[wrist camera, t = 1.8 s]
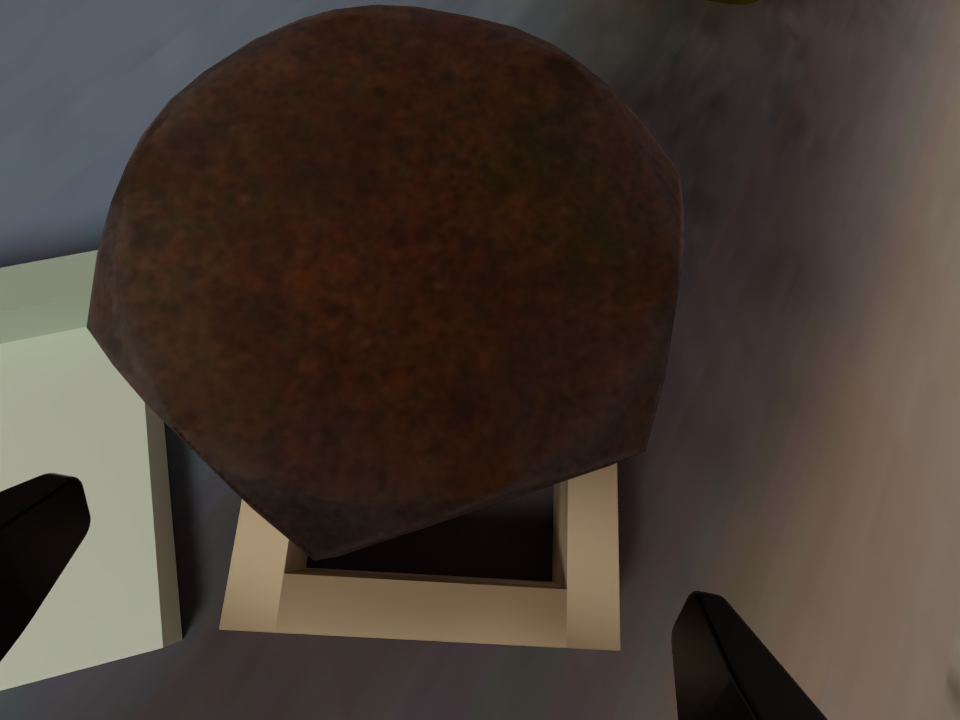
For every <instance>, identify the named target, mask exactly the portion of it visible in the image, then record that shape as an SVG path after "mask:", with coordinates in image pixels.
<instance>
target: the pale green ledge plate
mask: <svg viewBox="0 0 960 720" xmlns="http://www.w3.org/2000/svg"><path fill="white" fill-rule="evenodd" d="M97 252H98V250H95V251H90V252H84V253H79V254H73V255H68V256H62V257H57V258H51V259H46V260H40V261H35V262H29V263H24V264H18V265H13V266H8V267H2V268H0V492H1V491H3V490H5V489H8V488H10V487H13V486H15V485H18V484H20V483H23V482H25V481H28V480H30V479H33V478H35V477H38V476H40V475H43V474H47V473H57V474H62V475H68V476H73V477H76V478H78V479H79V480H80V481H81V482H82V484H83V488H84V492H85V496H86V500H87V504H88V508H89V512H90V517H91V522H90V527H89V530H88V532H87V534H86V536H85V538H84V539H83V541H82V542H81V544H80V546H79V547H78V549H77V550H76V552H75V553H74V555H73V556H72V558H71V559H70V561H69V563H68V564H67V566H66V567H65V569H64V570H63V572H62V573H61V575H60V576H59V578H58V580H57V581H56V583H55V584H54V586H53V587H52V589H51V590H50V592H49V593H48V595H47V597H46V598H45V600H44V601H43V603H42V604H41V606H40V607H39V609H38V610H37V612H36V614H35V615H34V617H33V618H32V620H31V621H30V622H29V624H28V625H27V627H26V628H25V630H24V631H23V633H22V634H21V635H20V637H19V638H18V639H17V641H16V642H15V643H14V645H13V646H12V647H11V649H10V650H9V651H8V653H7V654H6V655H5V657H4V658H3V659H2V660H1V662H0V691H1V690H5V689H9V688H12V687H16V686H20V685H24V684H28V683H31V682H35V681H39V680H43V679H46V678H50V677H54V676H58V675H62V674H65V673H69V672H73V671H77V670H81V669H84V668H88V667H92V666H96V665H99V664H103V663H107V662H111V661H115V660H118V659H122V658H126V657H130V656H134V655H137V654H141V653H145V652H149V651H152V650H156V649H160V648H164V647H166V646H168V645H171V644H173V643H176V642H178V641H181V640H182V628H181V616H180V604H179V593H178V581H177V569H176V557H175V545H174V533H173V522H172V510H171V498H170V486H169V474H168V462H167V451H166V439H165V427H164V421H163V420H162V419H161V418H160V417H159V416H158V415H157V414H156V413H155V412H154V411H153V410H152V409H151V408H150V407H149V406H148V405H147V404H146V403H145V402H144V401H143V400H142V399H141V398H140V396H139V395H138V394H137V393H136V392H135V390H134V389H133V388H132V387H131V386H130V385H129V383H128V382H127V381H126V380H125V379H124V378H123V376H122V375H121V374H120V373H119V372H118V370H117V369H116V368H115V367H114V366H113V365H112V363H111V362H110V360H109V359H108V357H107V356H106V355H105V353H104V352H103V350H102V349H101V347H100V346H99V344H98V343H97V342H96V340H95V339H94V337H93V336H92V334H91V333H90V332H89V330H88V329H87V320H88V313H89V306H90V299H91V292H92V285H93V278H94V271H95V264H96V257H97Z"/></svg>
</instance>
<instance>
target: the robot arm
mask: <svg viewBox="0 0 960 720" xmlns="http://www.w3.org/2000/svg"><path fill="white" fill-rule="evenodd" d="M90 522H91V517H90V512H89V508H88V504H87V500H86V496H85V492H84V488H83V484H82V482H81V481H80V480H79V479H78V478H76V477H73V476H68V475H62V474H57V473H47V474H43V475H40V476H38V477H35V478H33V479H30V480H28V481H25V482H23V483H20V484H18V485H15V486H13V487H10V488H8V489H5V490H3V491H1V492H0V662H1V660H2V659H3V658H4V657H5V655H6V654H7V653H8V651H9V650H10V649H11V647H12V646H13V645H14V643H15V642H16V641H17V639H18V638H19V637H20V635H21V634H22V633H23V631H24V630H25V628H26V627H27V625H28V624H29V622H30V621H31V620H32V618H33V617H34V615H35V614H36V612H37V610H38V609H39V607H40V606H41V604H42V603H43V601H44V600H45V598H46V597H47V595H48V593H49V592H50V590H51V589H52V587H53V586H54V584H55V583H56V581H57V580H58V578H59V576H60V575H61V573H62V572H63V570H64V569H65V567H66V566H67V564H68V563H69V561H70V559H71V558H72V556H73V555H74V553H75V552H76V550H77V549H78V547H79V546H80V544H81V542H82V541H83V539H84V538H85V536H86V534H87V532H88V530H89V527H90ZM671 641H672V654H673V665H674V677H675V688H676V699H677V711H678V720H828V719H827V718H826V717H825V716H824V715H823V714H822V712H821V711H820V710H819V709H818V708H817V706H816V705H815V704H814V703H813V702H812V701H811V699H810V698H809V697H808V696H807V695H806V694H805V692H804V691H803V690H802V689H801V688H800V686H799V685H798V684H797V683H796V682H795V681H794V679H793V678H792V677H791V676H790V675H789V674H788V672H787V671H786V670H785V669H784V668H783V666H782V665H781V664H780V663H779V662H778V661H777V659H776V658H775V657H774V656H773V655H772V654H771V652H770V651H769V650H768V649H767V648H766V646H765V645H764V644H763V643H762V642H761V641H760V639H759V638H758V637H757V636H756V635H755V634H754V632H753V631H752V630H751V629H750V628H749V626H748V625H747V624H746V623H745V622H744V621H743V619H742V618H741V617H740V616H739V615H738V614H737V612H736V611H735V610H734V609H733V608H732V606H731V605H730V604H729V603H728V602H727V601H726V600H725V599H724V598H723V597H721V596H719V595H716V594H711V593H706V592H700V591H694V592H692V593H691V594H690V595H689V596H688V598H687V600H686V602H685V604H684V606H683V608H682V610H681V612H680V614H679V616H678V618H677V620H676V622H675V624H674V626H673V630H672V640H671Z"/></svg>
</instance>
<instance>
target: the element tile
mask: <svg viewBox="0 0 960 720" xmlns="http://www.w3.org/2000/svg"><path fill="white" fill-rule="evenodd" d="M708 1H714V2H720V3H726V4H747V3H753V2H757V1H758V0H708Z"/></svg>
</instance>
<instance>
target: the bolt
mask: <svg viewBox="0 0 960 720" xmlns="http://www.w3.org/2000/svg"><path fill="white" fill-rule="evenodd" d="M683 254H684V203H683V195H682V187H681V178H680V172H679V171H678V169H677V168H676V167H675V165H674V164H673V163H672V161H671V160H670V159H669V157H668V156H667V155H666V153H665V152H664V151H663V149H662V148H661V147H660V145H659V144H658V143H657V141H656V140H655V138H654V137H653V136H652V134H651V133H650V132H649V130H648V129H647V128H646V126H645V125H644V124H643V122H642V121H641V120H640V119H639V118H638V117H637V116H636V115H635V113H634V112H633V111H632V110H631V109H630V108H629V107H628V106H627V105H626V104H625V103H624V102H623V101H622V100H621V99H620V97H619V96H618V95H617V94H616V93H615V92H614V91H613V90H612V89H611V88H610V87H609V86H608V85H607V84H606V83H604V82H603V81H602V80H601V79H600V78H598V77H597V76H596V75H595V74H593V73H592V72H591V71H590V70H589V69H587V68H586V67H585V66H584V65H582V64H581V63H580V62H579V61H577V60H576V59H574V58H573V57H571V56H570V55H568V54H567V53H565V52H564V51H562V50H561V49H559V48H558V47H556V46H555V45H553V44H551V43H549V42H547V41H544V40H542V39H540V38H538V37H535V36H533V35H531V34H529V33H526V32H524V31H522V30H519V29H517V28H515V27H511V26H507V25H503V24H499V23H495V22H491V21H487V20H483V19H479V18H474V17H470V16H465V15H459V14H454V13H448V12H443V11H437V10H431V9H426V8H420V7H412V6H391V5H369V6H361V7H352V8H344V9H335V10H331V11H327V12H324V13H320V14H316V15H313V16H309V17H305V18H302V19H299V20H297V21H295V22H293V23H290V24H288V25H286V26H283V27H281V28H279V29H277V30H274V31H272V32H270V33H268V34H265V35H263V36H261V37H259V38H256V39H254V40H253V41H251V42H250V43H248V44H246V45H245V46H243V47H242V48H240V49H239V50H237V51H235V52H234V53H232V54H231V55H229V56H228V57H226V58H225V59H223V60H221V61H220V62H218V63H217V64H215V65H214V66H212V67H211V68H209V69H207V70H206V71H204V72H203V73H202V74H201V75H199V76H198V77H197V78H196V79H195V80H193V81H192V82H191V83H190V84H189V85H188V86H186V87H185V88H184V89H183V90H182V91H180V92H179V93H178V94H177V95H176V96H174V97H173V98H172V99H171V100H170V101H169V102H168V103H167V104H166V106H165V107H164V108H163V109H162V111H161V112H160V113H159V114H158V116H157V117H156V118H155V119H154V121H153V122H152V123H151V124H150V126H149V127H148V128H147V129H146V131H145V132H144V133H143V134H142V136H141V138H140V140H139V142H138V144H137V146H136V148H135V150H134V151H133V153H132V155H131V157H130V159H129V161H128V163H127V165H126V167H125V170H124V172H123V175H122V177H121V179H120V182H119V184H118V187H117V189H116V192H115V194H114V196H113V199H112V201H111V205H110V208H109V212H108V215H107V219H106V223H105V226H104V230H103V234H102V237H101V241H100V245H99V248H98V252H97V257H96V264H95V271H94V278H93V285H92V292H91V299H90V306H89V313H88V320H87V329H88V330H89V332H90V333H91V334H92V336H93V337H94V339H95V340H96V342H97V343H98V344H99V346H100V347H101V349H102V350H103V352H104V353H105V355H106V356H107V357H108V359H109V360H110V362H111V363H112V365H113V366H114V367H115V368H116V369H117V370H118V372H119V373H120V374H121V375H122V376H123V378H124V379H125V380H126V381H127V382H128V383H129V385H130V386H131V387H132V388H133V389H134V390H135V392H136V393H137V394H138V395H139V396H140V398H141V399H142V400H143V401H144V402H145V403H146V404H147V405H148V406H149V407H150V408H151V409H152V410H153V411H154V412H155V413H156V414H157V415H158V416H159V417H160V418H161V419H162V420H163V421H164V422H165V423H166V424H167V425H168V426H169V427H170V428H171V429H172V430H173V431H174V432H175V433H176V434H177V435H178V436H179V437H180V438H181V439H182V440H183V441H184V442H185V443H186V444H187V445H188V446H189V447H190V448H191V449H192V450H193V451H194V452H195V453H196V454H197V455H198V456H199V457H200V458H201V459H202V460H203V461H204V462H205V463H206V464H207V465H208V466H209V467H210V468H211V469H212V470H213V471H214V472H215V473H217V474H218V475H219V476H220V477H221V478H222V479H223V480H224V481H225V482H226V483H227V484H228V485H229V486H230V487H231V488H232V489H233V490H234V491H235V492H236V493H237V494H238V495H239V496H240V497H241V498H242V499H243V500H244V501H245V502H246V503H247V504H248V505H249V506H250V507H251V508H252V509H253V510H254V511H256V512H257V513H258V514H259V515H260V516H261V517H263V518H264V519H265V520H266V521H267V522H269V523H270V524H271V525H272V526H273V527H274V528H276V529H277V530H278V531H279V532H280V533H282V534H283V535H284V536H285V537H286V538H288V539H289V540H290V541H291V542H292V543H293V544H295V545H296V546H297V547H298V548H299V549H301V550H302V551H303V552H304V553H305V554H306V555H308V556H309V557H310V558H311V559H312V560H314V561H315V560H321V559H326V558H331V557H336V556H341V555H344V554H347V553H350V552H353V551H356V550H359V549H362V548H365V547H368V546H371V545H374V544H377V543H380V542H383V541H387V540H390V539H393V538H396V537H399V536H402V535H405V534H408V533H411V532H414V531H417V530H420V529H423V528H426V527H429V526H432V525H435V524H438V523H441V522H444V521H447V520H450V519H453V518H456V517H459V516H462V515H465V514H468V513H471V512H474V511H477V510H480V509H483V508H486V507H489V506H492V505H495V504H498V503H501V502H504V501H507V500H510V499H513V498H516V497H519V496H522V495H525V494H528V493H531V492H534V491H536V490H539V489H542V488H545V487H548V486H551V485H554V484H557V483H560V482H563V481H566V480H569V479H572V478H575V477H578V476H581V475H584V474H587V473H590V472H593V471H596V470H599V469H602V468H605V467H608V466H611V465H613V464H616V463H618V462H620V461H623V460H625V459H627V458H630V457H632V456H634V455H637V454H639V453H642V452H644V451H646V447H647V443H648V439H649V436H650V432H651V428H652V424H653V420H654V417H655V413H656V409H657V405H658V401H659V397H660V394H661V390H662V386H663V382H664V378H665V372H666V366H667V360H668V354H669V347H670V341H671V335H672V329H673V322H674V316H675V309H676V302H677V296H678V289H679V282H680V275H681V268H682V261H683Z"/></svg>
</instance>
